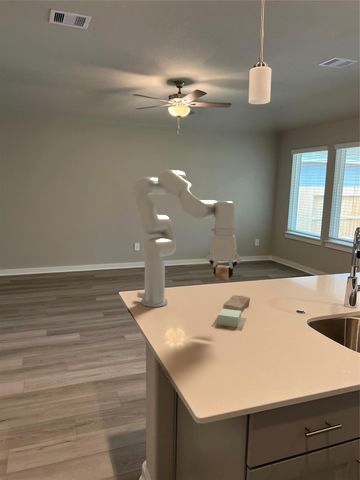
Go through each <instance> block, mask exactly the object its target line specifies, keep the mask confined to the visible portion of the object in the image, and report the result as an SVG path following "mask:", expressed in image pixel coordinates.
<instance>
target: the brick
mask: <svg viewBox="0 0 360 480" xmlns="http://www.w3.org/2000/svg"><path fill="white" fill-rule="evenodd" d="M250 301H251V298H250V297H249V296H247V295H236V294H235V295H234V294H233V295H231V296H230V298H229V299H228V300H226V301H225V302H224V303H223V307H222V309H230V310H238V311H241V313H242V312H243V311H244V310H245V309H248V307H249V306H250Z"/></svg>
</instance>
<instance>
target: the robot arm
mask: <svg viewBox="0 0 360 480" xmlns="http://www.w3.org/2000/svg"><path fill="white" fill-rule="evenodd" d="M193 190H194V187H193V184H192V183H191V182H189V181H188V177H187V175H186V173H185V172H184V171H182V170H178V169H164V170H161V171H160V172H159V173H158V175H157V176H149V175H148V176H141V177H139V178H137V179H136V180H135V181H134V183H133V186H132V197H133V199H134V200H133V201H134V202H135V205H136V209H137V215H138V219H139V224H140V228H141V231H142V233H143V234H144V235H146V236H155V235H156V237H150V238H148V239H147V240H145V241H144V242H143V244H142V254H143V261H144V292H137V293H136V295H137V296H136V297H137V298H141V300H140V301H141V302H140V303H141V305H143V306H144V307H148V308H149V307H150V308H158V307H164V306H166V305H167V304H168V302H169V301H168V299H167V298H166V297H165V290H166V289H165V287H166V286H165V285H166V284H165V280H166V279H165V278H166V273H165V272H166V271H165V270H166V267H165V262H164V260H163V257H168V256H171V255H173V254H174V253H175V252H176V249H177V241H176V236H175V232H174V228H173V223H172V220H171V218H170V217H169V216H167V215H166V214H162V213H161V214H158V212H157V208H156V205H155V203H154V201H153V199H152V198H151V197H150V196H164V195H168V194H171V195H172V196H174V198H176V199H178V203H179V204H180V207H181V209H182V210H183V211H185V212H186V213H187V214H189V215H190V217H193V218H195V219H197V220H205V219H206V220H207V219H214V228H211V229H210V231H211V233H213V234H214V235H213V234H212V237H211V243H210V251H209V253H208V254H207V255H206V257H205V259H206V260H207V261H208V263H210V265H212V268H213V275H214V277H215V278H216V267H217V266H218V265H219V264H218V263H219V262H228V266H230V267H229V278H230V279H231V278H232V277H233V276H234V268H235V266H237V265H238V264H239V263H241V262H242V261H243V259H242V257H241V256H240V255H239V253H238V250H237V249H238V248H237V239H236V235H235V234H234V232H235V229H234V228H235V203H234V201H230V200H217V199H216V200H214V199H205V200H204V199H199V198H198V197H196V196H195V195H193V194H192V193H193Z"/></svg>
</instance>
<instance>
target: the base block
mask: <svg viewBox="0 0 360 480" xmlns="http://www.w3.org/2000/svg"><path fill="white" fill-rule="evenodd" d="M217 317H218V324H219V325H226V326H233V327H238V326H239V323H240V321H241V318H242V312H241V311H238V310H230V309H223V308H222V309H221V310H220V312H219V313H218V314H217Z"/></svg>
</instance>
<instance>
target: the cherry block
mask: <svg viewBox="0 0 360 480" xmlns="http://www.w3.org/2000/svg"><path fill="white" fill-rule="evenodd" d="M229 267H230V265H224V264H222V265H220V264H217V267H216V277H215V281H226V282H229V280H230V279H231V278H229Z"/></svg>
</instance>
